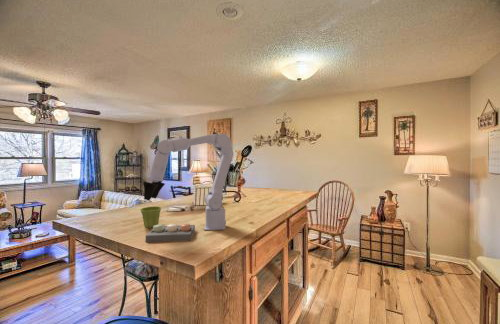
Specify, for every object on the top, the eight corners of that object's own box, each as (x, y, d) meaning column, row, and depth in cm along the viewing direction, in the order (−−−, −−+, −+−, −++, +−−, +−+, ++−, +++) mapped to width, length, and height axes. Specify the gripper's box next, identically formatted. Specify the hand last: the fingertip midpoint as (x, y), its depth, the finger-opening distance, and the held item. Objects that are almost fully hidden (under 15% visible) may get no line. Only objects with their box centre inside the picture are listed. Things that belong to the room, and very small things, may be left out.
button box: (194, 230, 101) (194, 224, 101) (190, 240, 89) (189, 233, 89) (155, 232, 100) (155, 225, 100) (145, 242, 88) (145, 234, 88)
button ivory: (177, 230, 97) (177, 223, 97) (175, 233, 93) (175, 226, 93) (168, 231, 97) (168, 224, 96) (165, 234, 93) (165, 226, 92)
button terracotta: (191, 230, 97) (190, 223, 97) (189, 233, 93) (189, 226, 93) (181, 230, 97) (181, 223, 97) (179, 233, 93) (179, 226, 93)
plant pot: (154, 230, 103) (153, 211, 103) (135, 228, 105) (135, 210, 105) (165, 224, 112) (165, 206, 112) (148, 223, 114) (148, 206, 114)
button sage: (164, 231, 96) (164, 224, 96) (161, 234, 92) (161, 227, 92) (155, 231, 96) (155, 224, 96) (151, 234, 92) (151, 227, 92)
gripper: (155, 166, 104) (147, 195, 103) (143, 164, 89) (133, 198, 88) (170, 169, 104) (162, 198, 103) (160, 168, 90) (151, 202, 89)
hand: (150, 198), depth 96 cm, fingers open, 7 cm apart
